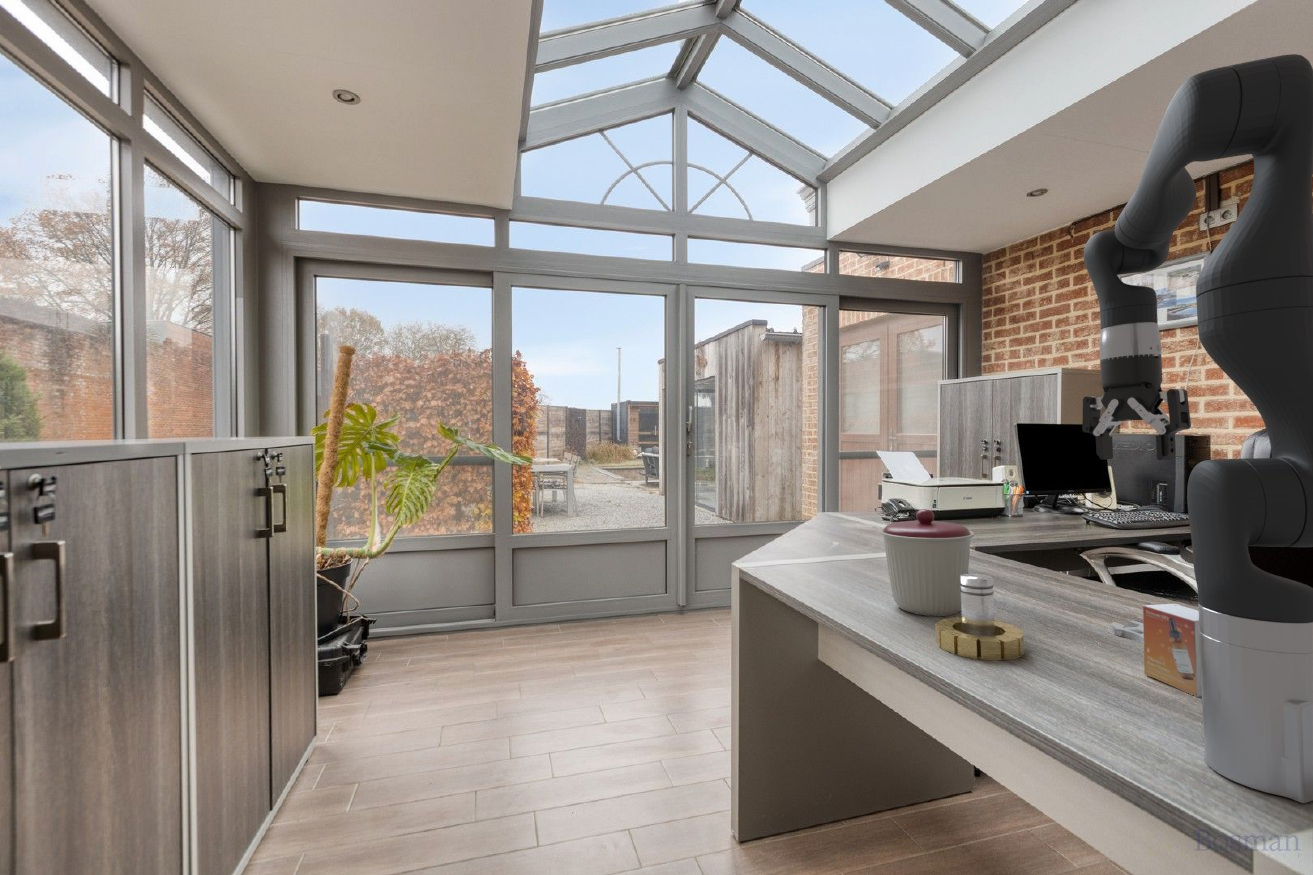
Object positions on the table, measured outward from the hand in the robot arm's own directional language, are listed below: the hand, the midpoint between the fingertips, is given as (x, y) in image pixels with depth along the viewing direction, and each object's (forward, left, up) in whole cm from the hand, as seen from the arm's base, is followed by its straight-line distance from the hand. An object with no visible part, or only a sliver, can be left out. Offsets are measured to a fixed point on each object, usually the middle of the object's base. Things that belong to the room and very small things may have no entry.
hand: (1134, 459), depth 93 cm
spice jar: (+16, +16, -32) cm, 39 cm away
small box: (-7, +2, -32) cm, 33 cm away
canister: (+37, +8, -32) cm, 49 cm away
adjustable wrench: (+4, -8, -33) cm, 34 cm away
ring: (+16, +16, -32) cm, 39 cm away
